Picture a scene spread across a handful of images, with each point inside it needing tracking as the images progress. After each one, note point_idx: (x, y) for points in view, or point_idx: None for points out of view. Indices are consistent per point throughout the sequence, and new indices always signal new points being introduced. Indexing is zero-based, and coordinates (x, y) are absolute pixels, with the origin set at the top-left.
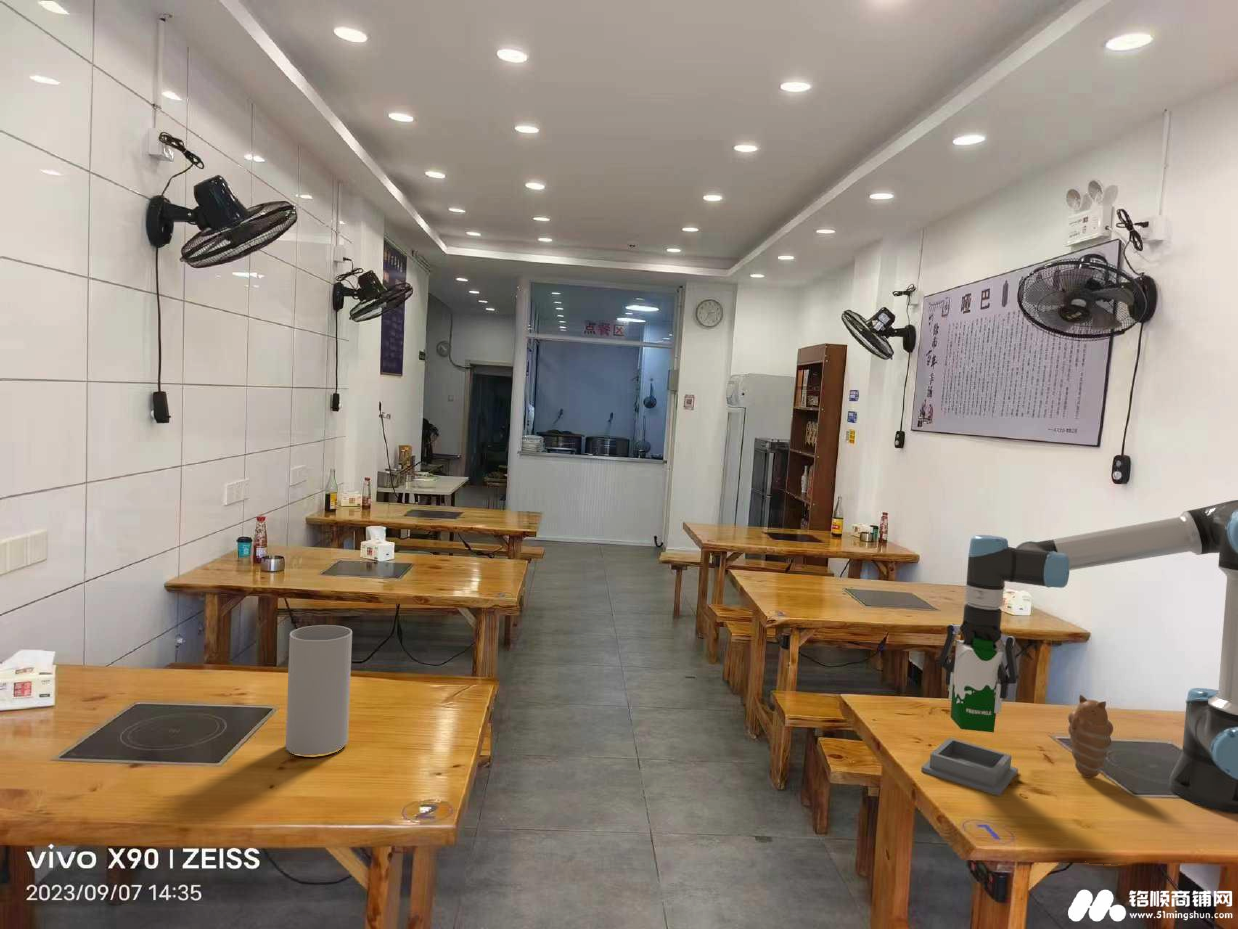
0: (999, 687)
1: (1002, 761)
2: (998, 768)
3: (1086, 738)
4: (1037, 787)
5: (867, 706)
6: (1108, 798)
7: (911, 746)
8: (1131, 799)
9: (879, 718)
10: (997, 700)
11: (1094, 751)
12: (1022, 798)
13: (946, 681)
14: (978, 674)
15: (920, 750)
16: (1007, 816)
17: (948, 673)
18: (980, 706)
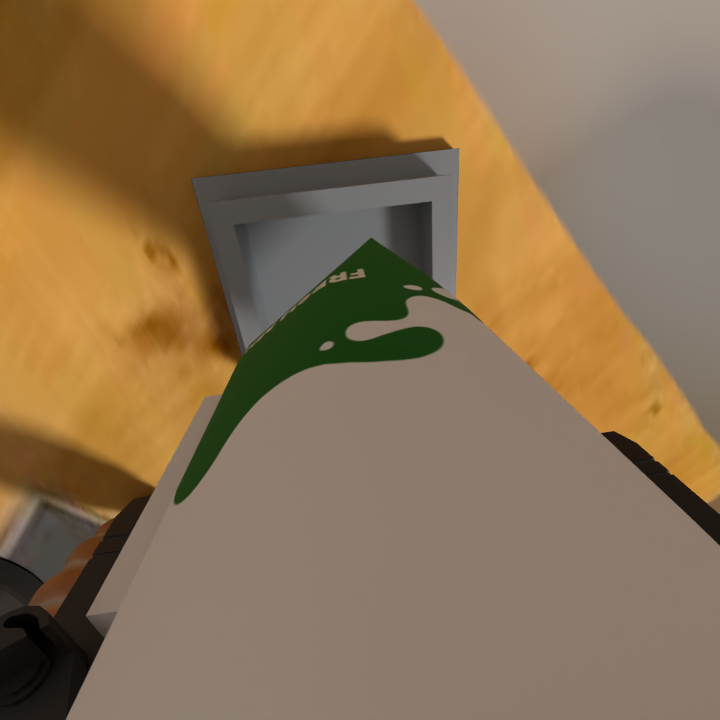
0: (118, 571)
1: (252, 340)
2: (226, 266)
3: (71, 583)
4: (176, 352)
5: (679, 467)
6: (47, 435)
7: (531, 324)
8: (22, 471)
9: (642, 426)
10: (182, 456)
11: (75, 555)
12: (150, 234)
13: (632, 448)
14: (254, 587)
15: (502, 319)
16: (74, 5)
17: (695, 517)
18: (276, 331)
